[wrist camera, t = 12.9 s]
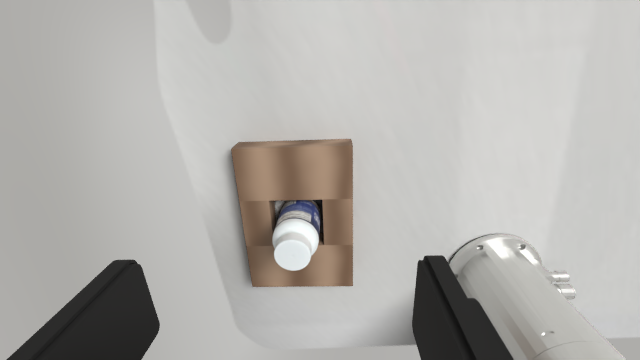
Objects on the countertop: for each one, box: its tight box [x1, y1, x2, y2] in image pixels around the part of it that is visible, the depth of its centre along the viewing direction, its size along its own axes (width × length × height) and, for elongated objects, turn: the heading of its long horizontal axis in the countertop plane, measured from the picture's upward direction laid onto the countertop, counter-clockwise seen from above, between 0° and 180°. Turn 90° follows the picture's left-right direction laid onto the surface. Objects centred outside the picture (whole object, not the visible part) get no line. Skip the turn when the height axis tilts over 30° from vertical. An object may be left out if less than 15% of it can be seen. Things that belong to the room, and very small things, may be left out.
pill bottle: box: [272, 200, 320, 271], centre depth 37 cm, size 5×5×10 cm
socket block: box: [231, 139, 353, 287], centre depth 40 cm, size 14×20×3 cm
